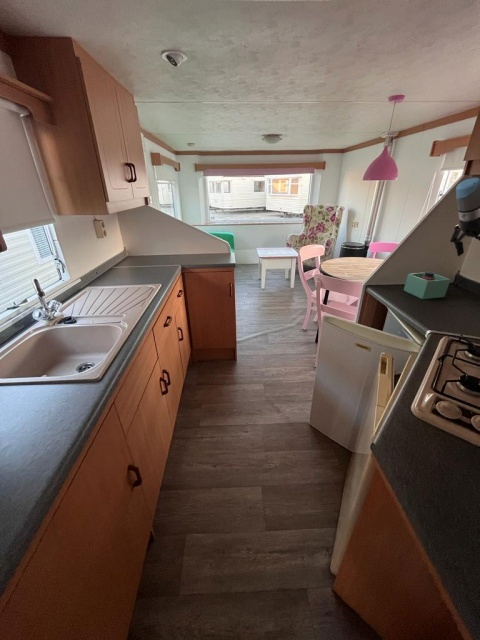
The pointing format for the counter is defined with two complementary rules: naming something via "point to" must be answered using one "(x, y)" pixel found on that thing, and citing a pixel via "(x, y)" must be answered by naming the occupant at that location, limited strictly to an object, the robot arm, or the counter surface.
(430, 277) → the supplement bottle
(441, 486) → the counter surface
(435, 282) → the waste bin
